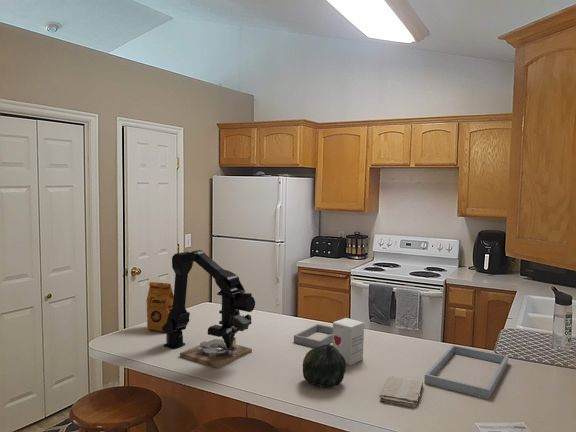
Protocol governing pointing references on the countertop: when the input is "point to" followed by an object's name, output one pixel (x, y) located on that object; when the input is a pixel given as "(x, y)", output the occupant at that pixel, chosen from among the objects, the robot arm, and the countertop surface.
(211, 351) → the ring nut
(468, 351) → the slate carton frame
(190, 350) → the walnut base
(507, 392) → the countertop surface
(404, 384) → the washcloth
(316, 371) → the squash
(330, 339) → the grey frame
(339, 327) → the supplement box
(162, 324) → the coffee package
